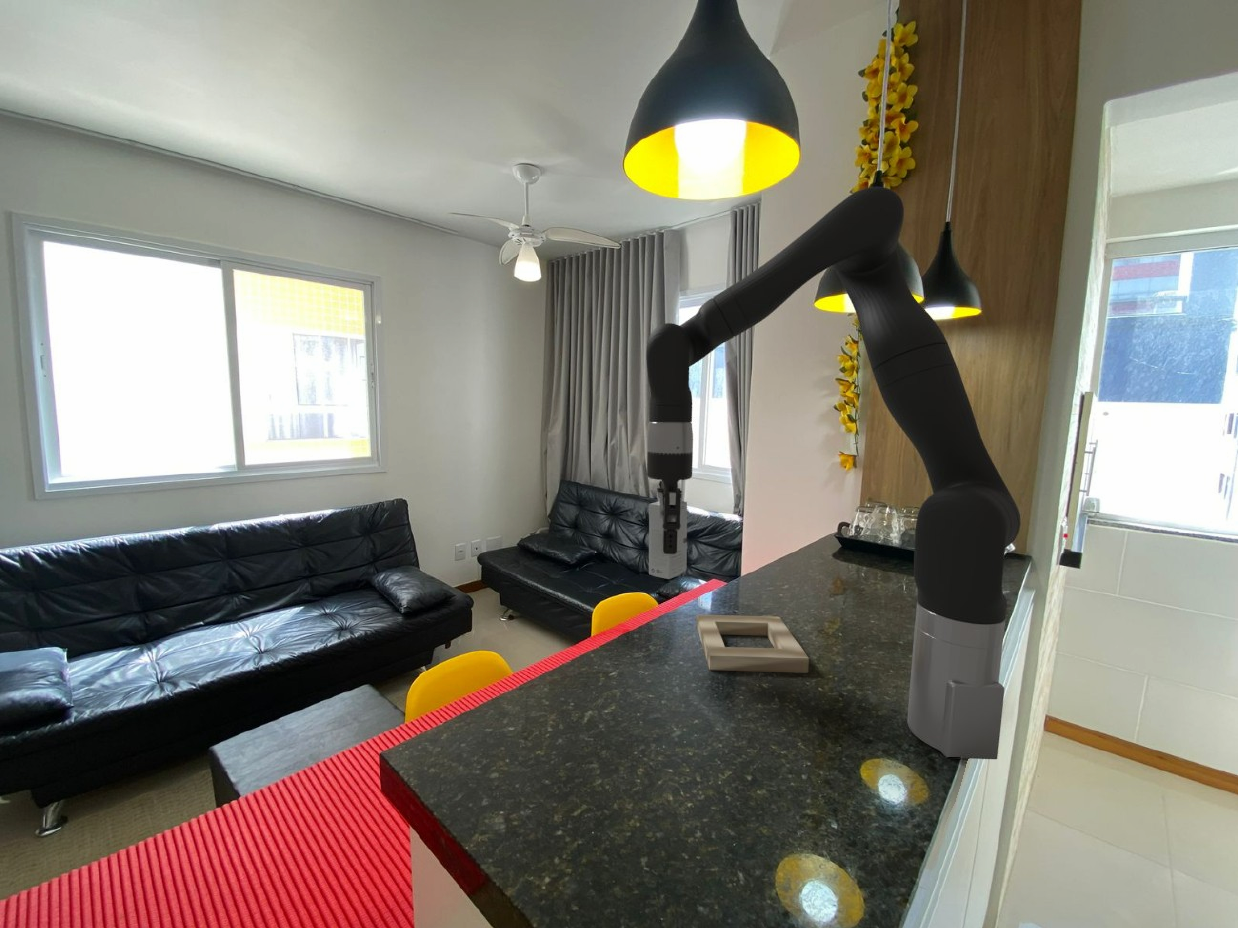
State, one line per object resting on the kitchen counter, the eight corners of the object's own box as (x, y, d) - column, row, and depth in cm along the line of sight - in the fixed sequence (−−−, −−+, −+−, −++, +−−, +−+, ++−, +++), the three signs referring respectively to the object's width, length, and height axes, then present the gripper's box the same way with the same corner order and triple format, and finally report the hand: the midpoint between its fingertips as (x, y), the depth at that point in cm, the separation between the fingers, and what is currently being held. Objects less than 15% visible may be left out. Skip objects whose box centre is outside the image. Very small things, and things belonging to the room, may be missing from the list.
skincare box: (670, 580, 77) (671, 506, 76) (646, 574, 80) (647, 503, 78) (687, 570, 82) (689, 501, 81) (665, 565, 85) (666, 498, 83)
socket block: (808, 672, 77) (808, 658, 77) (709, 669, 78) (710, 655, 78) (778, 628, 93) (778, 616, 93) (696, 626, 94) (696, 614, 94)
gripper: (698, 453, 72) (696, 559, 73) (687, 447, 86) (685, 536, 87) (648, 452, 72) (647, 559, 73) (646, 446, 86) (644, 536, 88)
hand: (668, 546), depth 80 cm, fingers closed on skincare box, 7 cm apart
